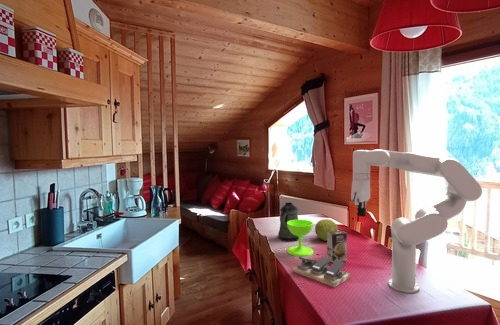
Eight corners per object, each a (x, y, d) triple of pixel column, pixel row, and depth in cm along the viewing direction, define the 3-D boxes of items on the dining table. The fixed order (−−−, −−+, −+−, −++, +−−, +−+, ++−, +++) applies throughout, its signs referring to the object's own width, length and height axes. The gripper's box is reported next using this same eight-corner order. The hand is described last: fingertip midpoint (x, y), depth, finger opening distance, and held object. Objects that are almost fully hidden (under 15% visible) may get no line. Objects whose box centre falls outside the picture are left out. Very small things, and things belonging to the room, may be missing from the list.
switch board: (310, 263, 162) (309, 254, 162) (350, 277, 144) (349, 267, 144) (293, 271, 153) (293, 262, 152) (334, 287, 135) (334, 276, 135)
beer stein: (300, 234, 215) (300, 200, 214) (303, 243, 196) (302, 206, 195) (278, 234, 217) (277, 200, 216) (278, 242, 198) (277, 206, 196)
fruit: (338, 244, 193) (327, 225, 191) (319, 248, 201) (308, 229, 199) (343, 230, 206) (333, 212, 204) (325, 234, 214) (315, 217, 212)
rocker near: (336, 262, 147) (335, 260, 147) (344, 264, 144) (344, 262, 143) (325, 274, 141) (325, 272, 141) (333, 277, 138) (333, 275, 137)
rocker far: (309, 260, 159) (310, 257, 159) (316, 262, 156) (317, 260, 156) (298, 258, 152) (299, 256, 153) (305, 261, 149) (306, 258, 149)
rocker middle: (322, 258, 153) (322, 256, 153) (330, 261, 150) (329, 258, 149) (311, 269, 147) (311, 266, 147) (319, 271, 143) (318, 269, 143)
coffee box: (332, 263, 162) (332, 234, 161) (326, 259, 168) (326, 231, 167) (347, 261, 165) (347, 232, 164) (340, 257, 171) (340, 229, 170)
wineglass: (313, 257, 171) (313, 226, 170) (286, 255, 175) (285, 226, 174) (313, 247, 187) (313, 219, 186) (288, 246, 190) (287, 219, 189)
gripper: (361, 174, 143) (361, 212, 145) (345, 177, 134) (345, 217, 135) (376, 175, 138) (376, 214, 139) (361, 178, 128) (361, 220, 129)
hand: (361, 215), depth 137 cm, fingers closed
